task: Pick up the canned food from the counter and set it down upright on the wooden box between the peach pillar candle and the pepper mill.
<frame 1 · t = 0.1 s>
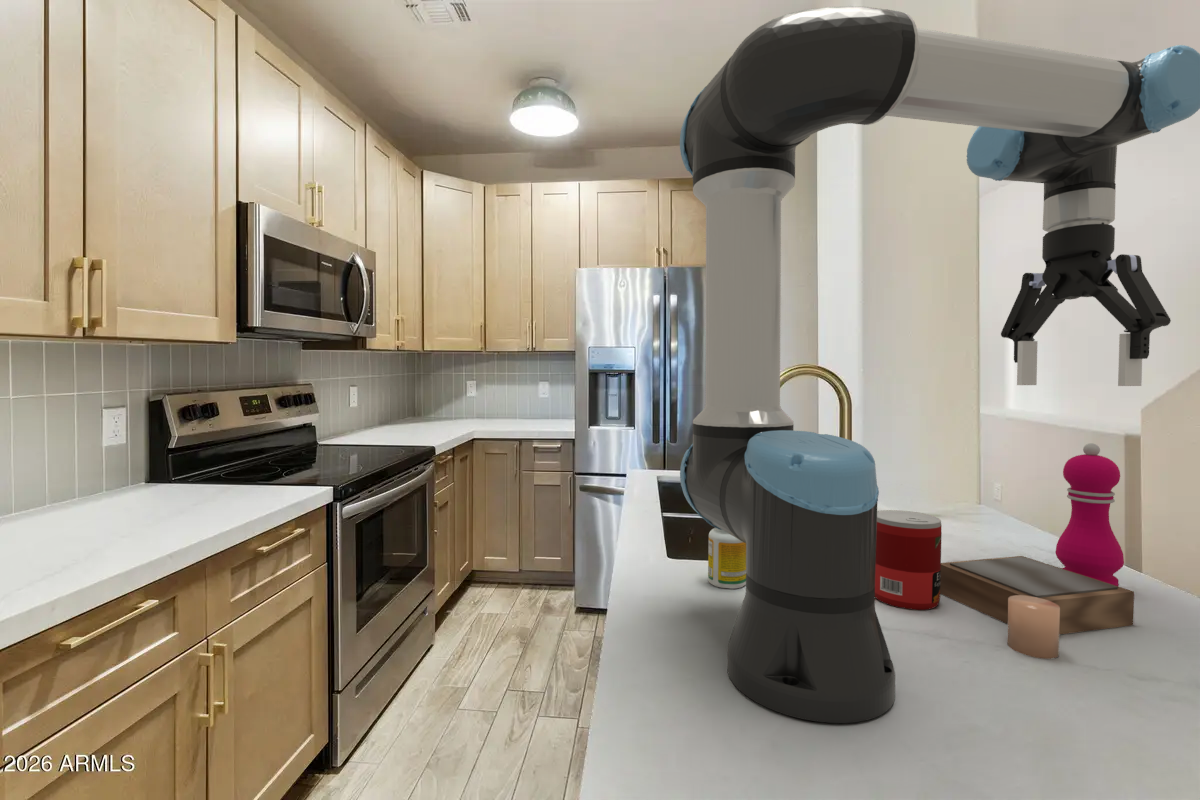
hand: (1073, 385, 78), 28 cm above the countertop, fingers open, 13 cm apart
pepper mill: (1087, 588, 80), on the countertop
wooden box: (1028, 607, 72), on the countertop
peach pillar candle: (1032, 649, 61), on the countertop
supplement bottle: (727, 584, 82), on the countertop
canned food: (904, 600, 75), on the countertop
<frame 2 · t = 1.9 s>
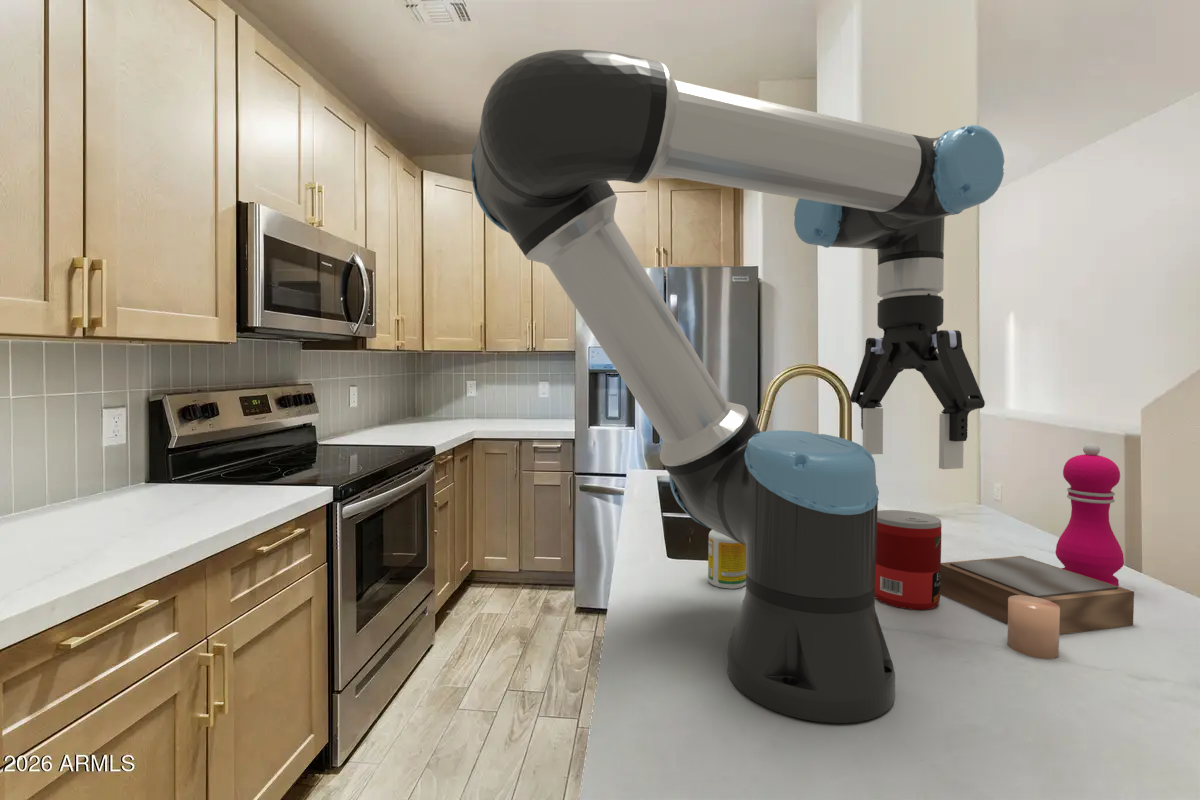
hand: (908, 460, 75), 18 cm above the countertop, fingers open, 13 cm apart
nothing on the countertop moved.
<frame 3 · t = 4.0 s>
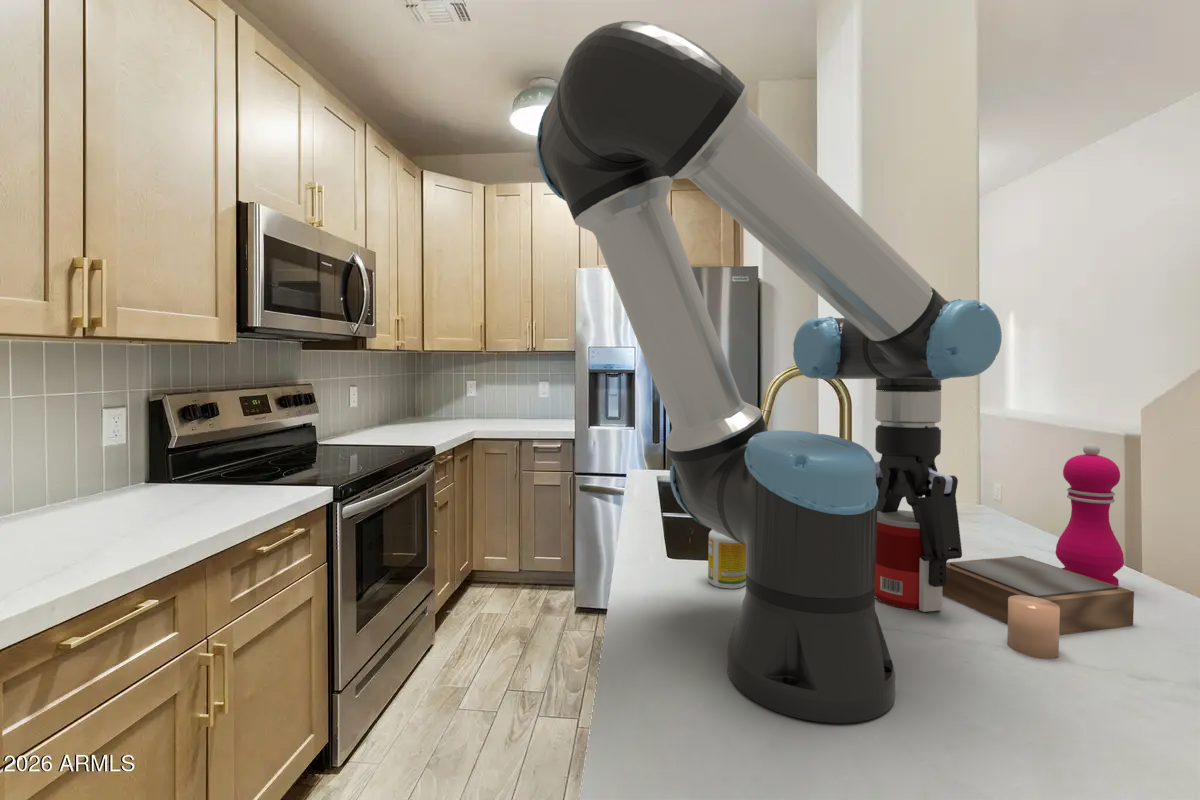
hand: (905, 596, 75), 0 cm above the countertop, fingers closed on canned food, 8 cm apart
canned food: (904, 600, 75), on the countertop, touching gripper
everything else where it was.
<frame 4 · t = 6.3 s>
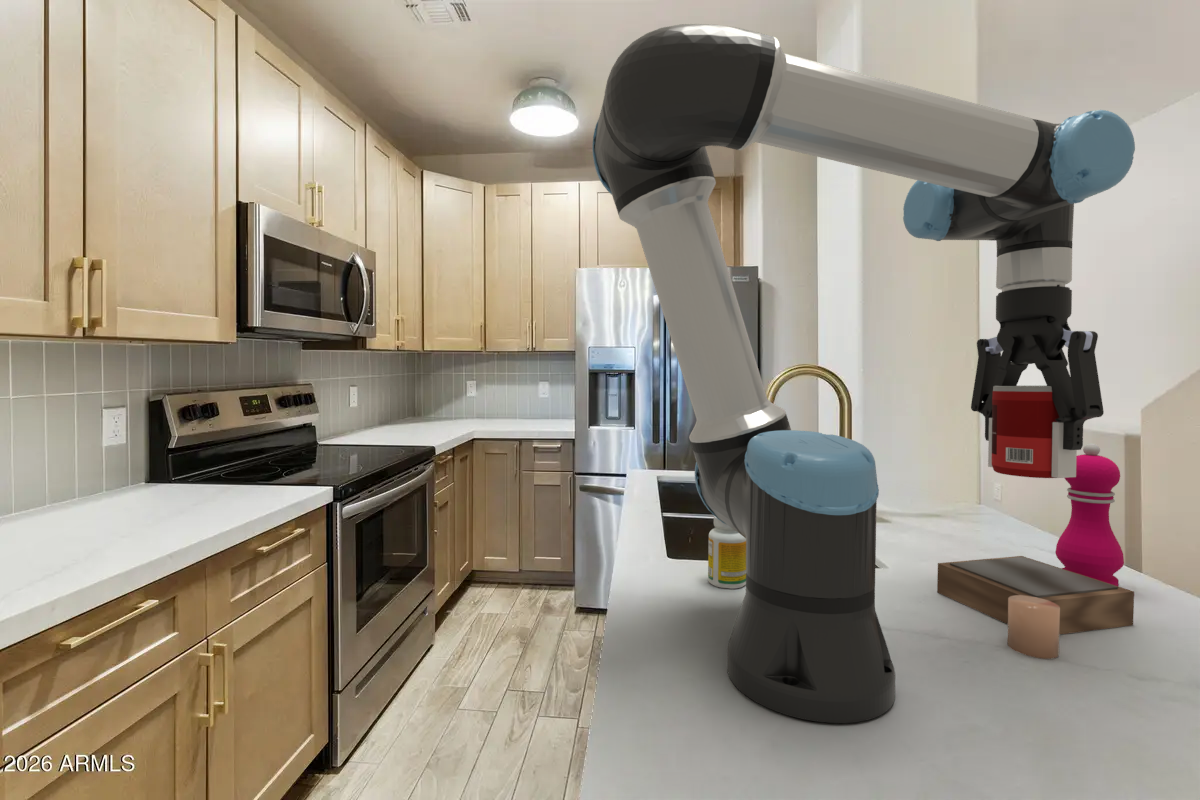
hand: (1029, 471, 72), 17 cm above the countertop, fingers closed on canned food, 8 cm apart
canned food: (1029, 475, 72), point 17 cm above the countertop, touching gripper
everything else where it was.
when the fingers open (5 cm above the countertop, at t = 8.9 s): canned food stays where it is, resting on wooden box.
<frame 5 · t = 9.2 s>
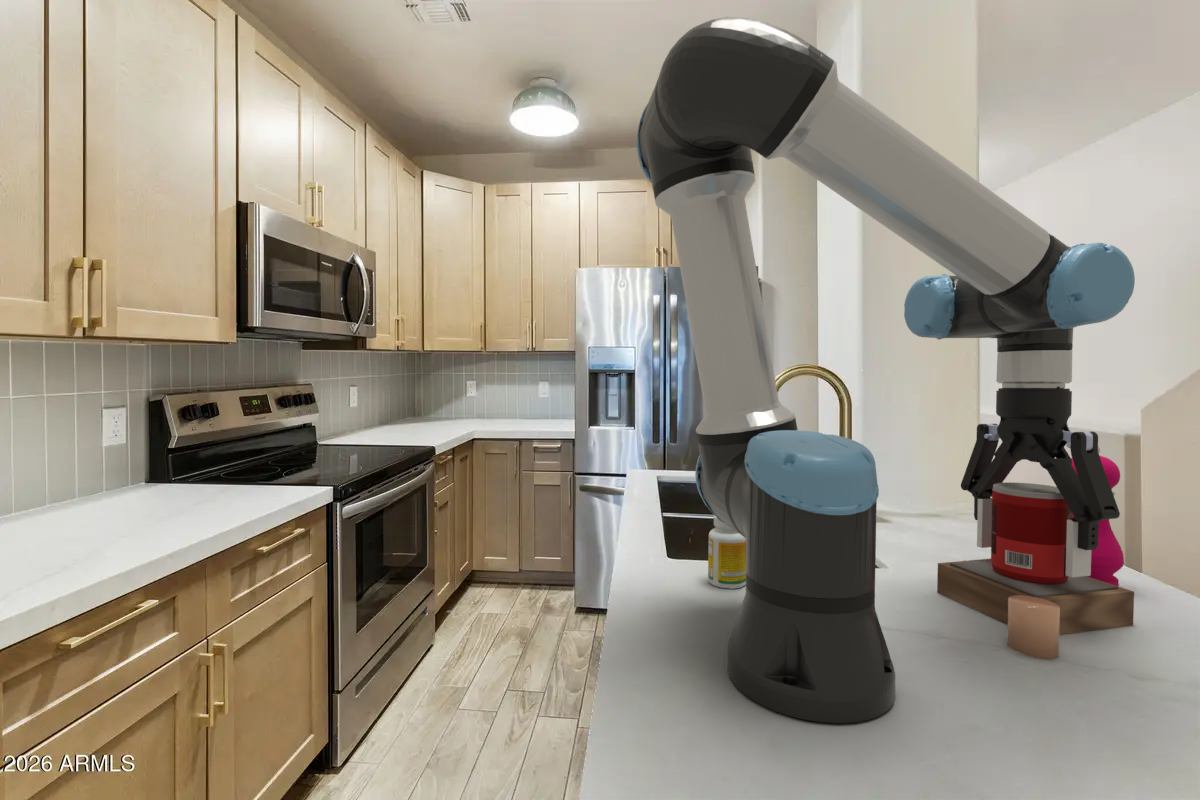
hand: (1029, 559, 72), 6 cm above the countertop, fingers open, 11 cm apart
canned food: (1028, 575, 72), point 4 cm above the countertop, touching wooden box
everything else where it was.
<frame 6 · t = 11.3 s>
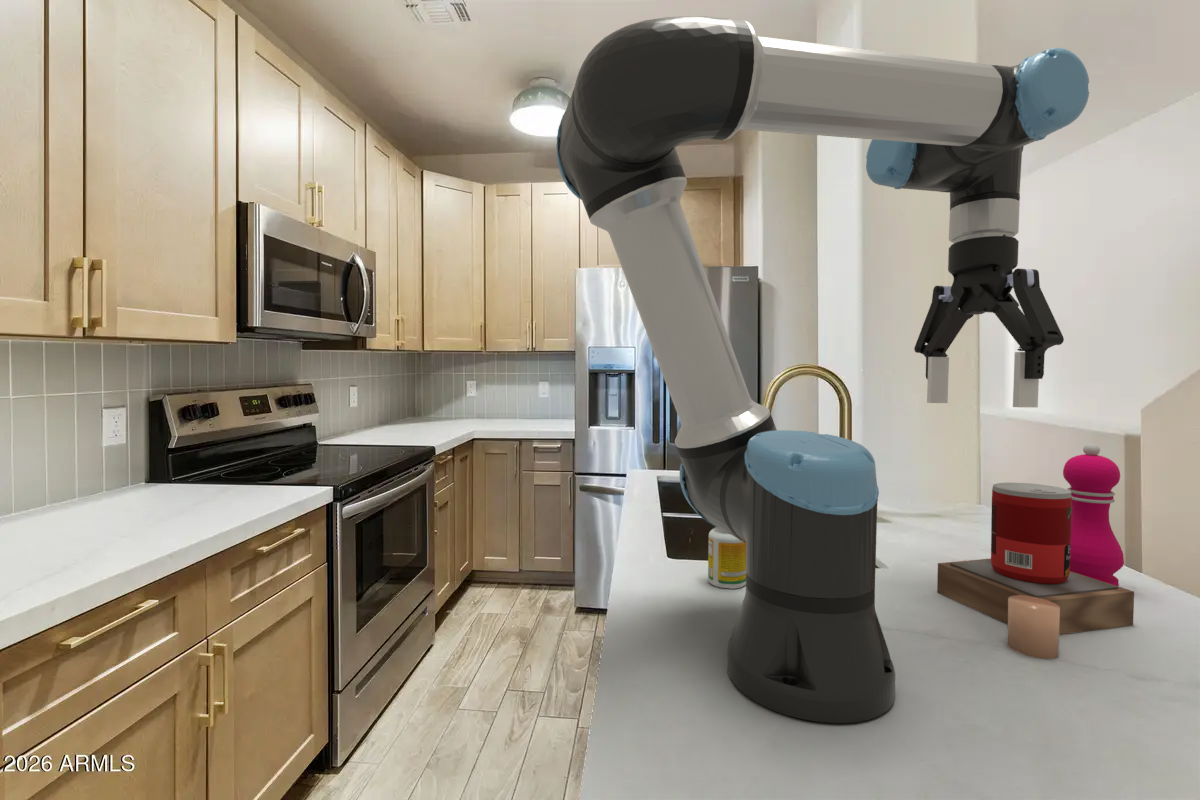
hand: (977, 405, 75), 25 cm above the countertop, fingers open, 13 cm apart
nothing on the countertop moved.
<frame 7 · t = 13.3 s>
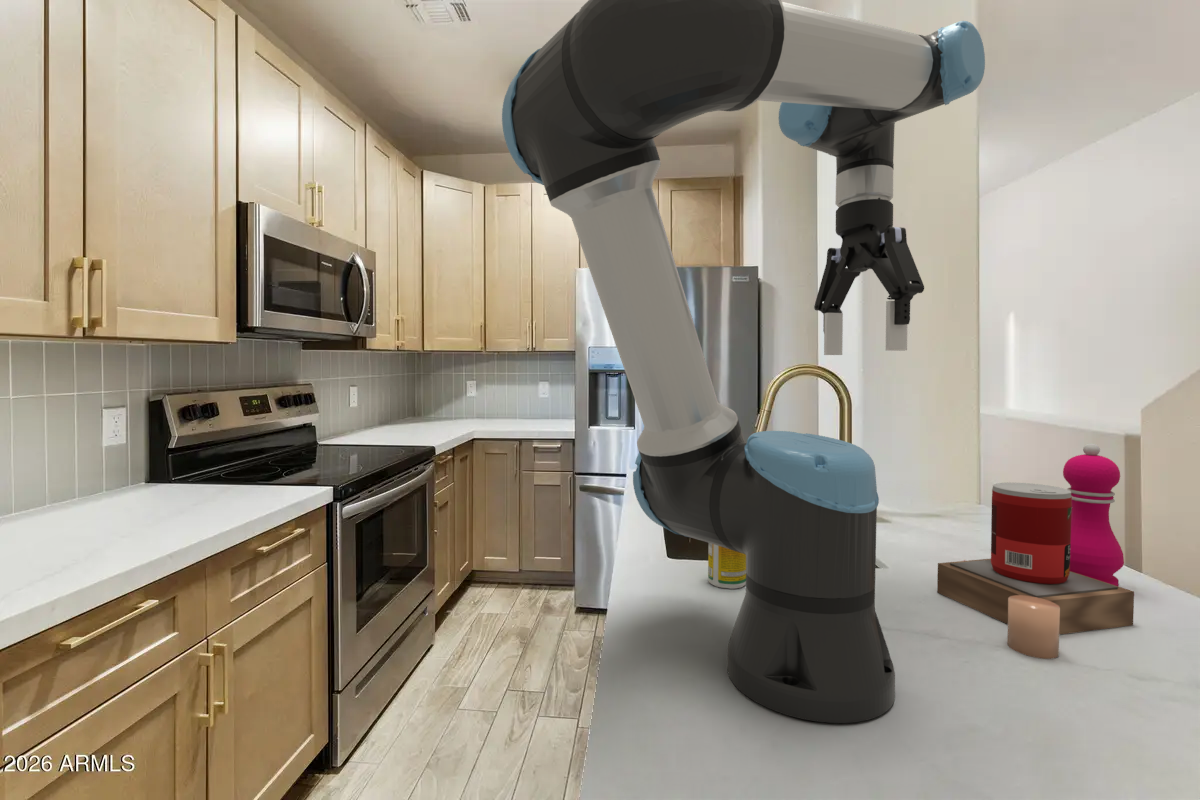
hand: (862, 353, 83), 33 cm above the countertop, fingers open, 13 cm apart
nothing on the countertop moved.
at the end: canned food inside the target area on the wooden box (0.0 cm from its centre), point 4.1 cm above the wooden box's base; canned food tilted 0°; the gripper is holding nothing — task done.
